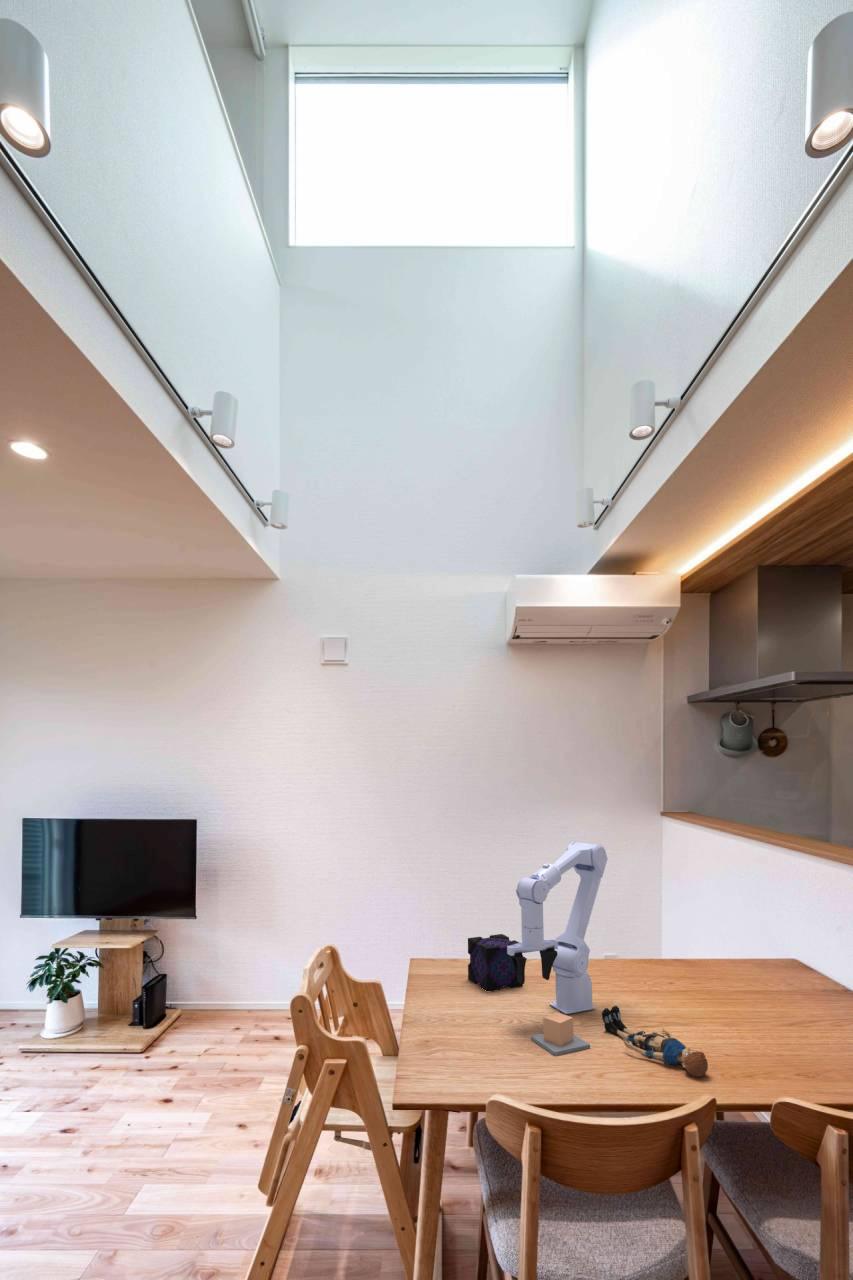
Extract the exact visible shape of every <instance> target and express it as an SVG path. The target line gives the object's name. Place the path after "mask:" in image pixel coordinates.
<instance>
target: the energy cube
mask: <svg viewBox="0 0 853 1280" xmlns="http://www.w3.org/2000/svg"><path fill="white" fill-rule="evenodd" d="M517 943H520V942H519V941H517V940H516V939H514V940H510V937H509V936H507V935H505V934H503V933H500V934H499V933H498V934H491V935H489V937H482V936H477V937H476V936H475V937H467V954H469V963H468V964H467V976H468V977H467V980H468V981H470V982H471V983H473V984H475V985H477V984H478V985H479V988H480V987H481V988H480V989H482V988H483V989H484V991H485V990H486V991H491V992H496V991H495V990H497V991H500V990H501V989H502V988H508V987H509V988H508V989H516V988H522V987H524V984H520V983H519V982H518V980H517V975H516V972H515V968H514V966H513V963H512V961H511V959H510V957H509V954H507V946H511V945H514V944H517ZM515 987H516V988H515ZM483 989H482V990H483ZM486 991H485V992H486Z"/></svg>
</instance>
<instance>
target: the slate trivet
mask: <svg viewBox="0 0 853 1280" xmlns="http://www.w3.org/2000/svg"><path fill="white" fill-rule="evenodd" d="M530 1040H531V1041H532V1042H534V1043H535V1044H536V1045H538V1046H540V1047H541V1048H543V1049H544V1050H546V1051H547V1052H548V1053H550V1054H551V1055H553V1056H555V1057H557V1056H560V1055H565V1054H570V1053H575V1052H579V1051H582V1050H583V1051H585V1050H588V1049H591V1044H590V1043H589V1042H587V1041H585V1040H583V1039H582V1038H580V1037H578V1036H577V1035H576V1034H574V1033H573V1040H572V1041H570V1042H568V1043H566V1044H564V1045H562V1046H560V1045H557V1044H554V1043H552V1042H549V1041H546V1040H544V1032H543V1033H538V1034H534V1035H530Z"/></svg>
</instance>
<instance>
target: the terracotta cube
mask: <svg viewBox="0 0 853 1280" xmlns="http://www.w3.org/2000/svg"><path fill="white" fill-rule="evenodd" d="M542 1021H543V1022H542V1025H543V1033H544V1040H546V1041H549V1042H552V1043H554V1044H557V1045H560V1046H562V1045H564V1044H566V1043H568V1042H570V1041H572V1040H573V1034H574V1018H573V1017H572V1016H569V1015H568V1014H565V1013H562V1012H558V1011H555V1012H552V1013H550V1014H547V1015H545V1016H543V1017H542Z"/></svg>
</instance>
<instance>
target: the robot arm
mask: <svg viewBox="0 0 853 1280" xmlns="http://www.w3.org/2000/svg"><path fill="white" fill-rule="evenodd" d="M565 850H566V851H565V852H564V853H562V855H561V856H560V857H559V858H558V859H557V860H556V861H554V863H544V864H542V867H541V868H539V869H538V870H537V871H536V872H533V873H532V874H531V876H529V877H522V878H521V879H520V880H519V881H518V883H517V885H516V889H515V893H516V896H517V898H518V900H519V901H518V904H519V906H520V907H521V908H520V910H521V911H520V913H521V917H520V918H521V941H520V942H519V943H517V944H514V945H511V946H507V954H509V957H510V959H511V961H512V963H513V966H514V968H515V972H516V975H517V980H518V982H519V983H520V984H523V985H525V979H526V977H525V973H526V972H525V970H526V964H527V960H528V959H527V957H526V956H524V955H523V954H526V953H533V952H539V955H540V961H541V977H542V979H544V980H546V981H549V980H550V976H551V972H552V971H553V972H554V974H555V981H554V982H555V1001H553V1002H549V1006H551V1007H553V1008H555V1009H556V1010H558V1011H559V1012H560V1013H562V1014H564V1015H569V1014H576V1013H580V1012H586V1011H591V1010H594V1009H595V1008H596V1007H595V1006H594V1004H593V982H592V979H591V976H590V975H589V973H588V972H587V970H588V968H589V957H590V952H591V949H590V947H589V946H588V944H587V943H586V941H585V936H586V932H587V929H588V927H589V923H590V919H591V915H592V911H593V909H594V906H595V902H596V899H597V894H598V891H599V888H600V884H601V879H602V878H603V876H604V873H605V869H606V867H607V866H606V865H607V864H608V863H607V862H608V856H607V852H606V851H607V850H606V849H605V846H603V845H602V844H594V843H593V844H592V843H585V842H580V841H577V840H576V841H572V842H571V843H570V844H568V845H567V846H566V849H565ZM571 869H573V870H574V871H575V873H576V874H577V875H579V877H580V881H579V884H578V886H577V887H578V888H577V891H576V894H575V897H574V901H573V904H572V907H571V910H570V913H569V918H568V920H567V924H566V927H565V931H564V932H563V933H561V934H560V935H558V936H556V937H555V939H545V937H544V934H545V933H544V931H545V929H544V902H545V901H546V900H547V897H548V895H549V893H550V891H551V890H552V889H553V888H555V887H556V886H557V885H558V884H559V883H560V882H561V880H562V875H563V874H565V873H566V872H568V871H569V870H571Z"/></svg>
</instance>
